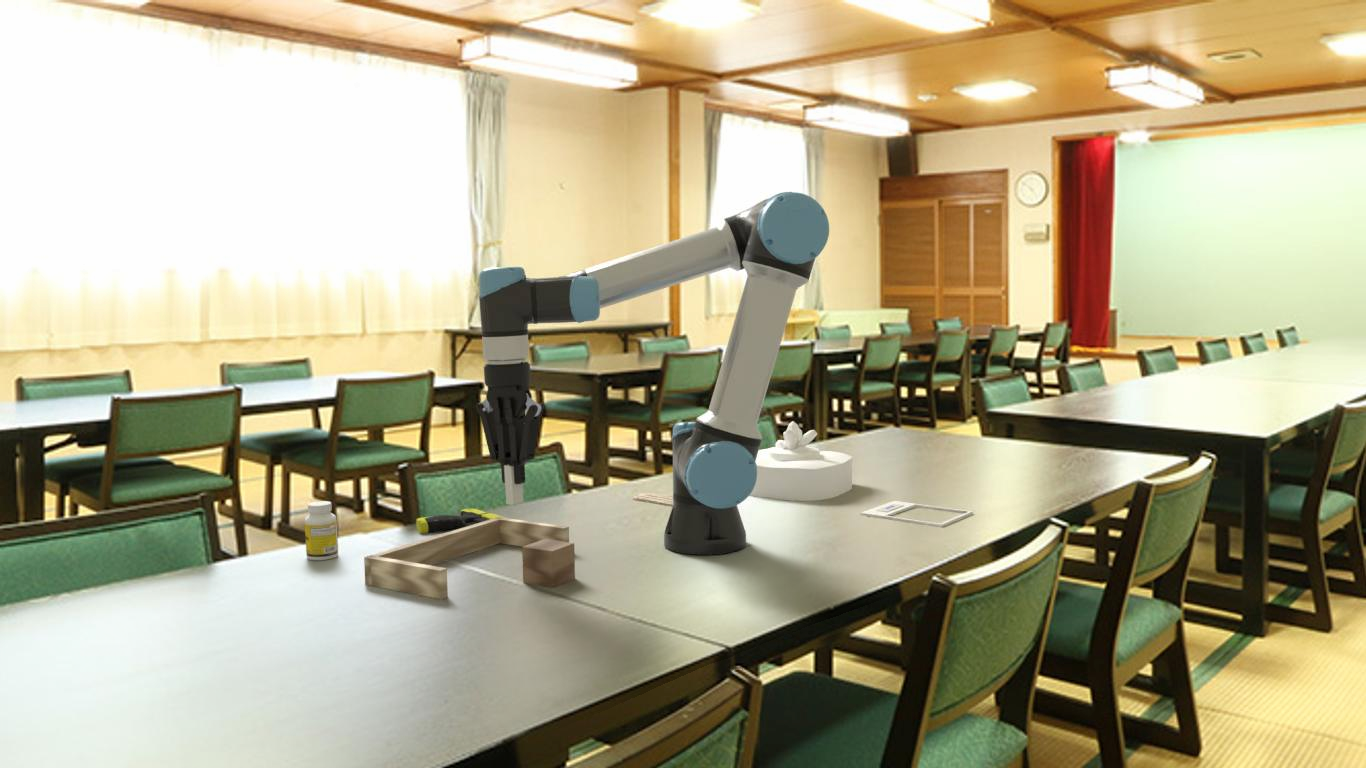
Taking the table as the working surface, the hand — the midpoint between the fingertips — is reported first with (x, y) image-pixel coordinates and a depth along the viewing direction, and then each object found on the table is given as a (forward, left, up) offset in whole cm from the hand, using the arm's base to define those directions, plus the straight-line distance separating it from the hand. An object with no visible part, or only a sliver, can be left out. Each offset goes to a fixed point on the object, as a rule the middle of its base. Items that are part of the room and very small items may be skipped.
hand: (515, 502), depth 175 cm
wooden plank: (+3, -61, -13) cm, 62 cm away
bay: (+9, 0, -12) cm, 15 cm away
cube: (-7, +1, -12) cm, 14 cm away
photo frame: (-45, -74, -13) cm, 88 cm away
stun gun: (+28, -18, -13) cm, 36 cm away
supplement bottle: (+38, +8, -12) cm, 40 cm away
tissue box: (-10, -88, -13) cm, 89 cm away
